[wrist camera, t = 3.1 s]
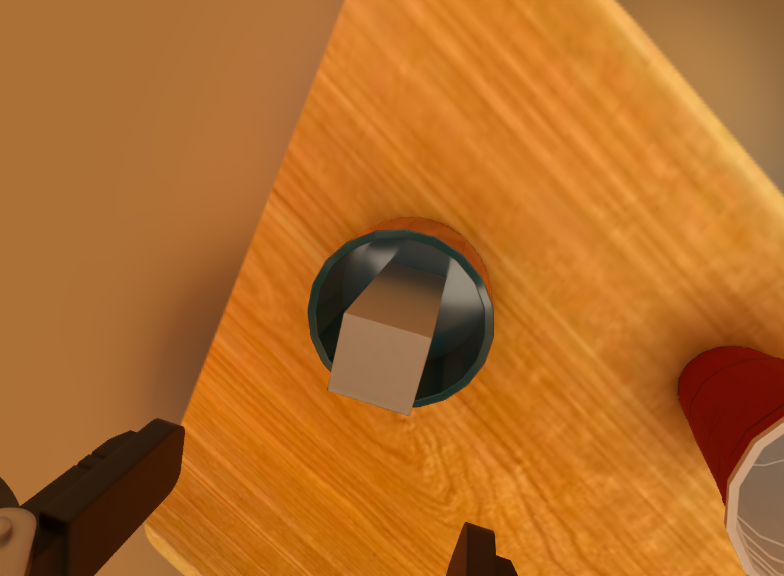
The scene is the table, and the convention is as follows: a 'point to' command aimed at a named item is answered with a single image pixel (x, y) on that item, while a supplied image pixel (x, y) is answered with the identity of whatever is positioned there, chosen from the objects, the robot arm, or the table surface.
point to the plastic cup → (742, 446)
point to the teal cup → (457, 309)
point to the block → (387, 338)
